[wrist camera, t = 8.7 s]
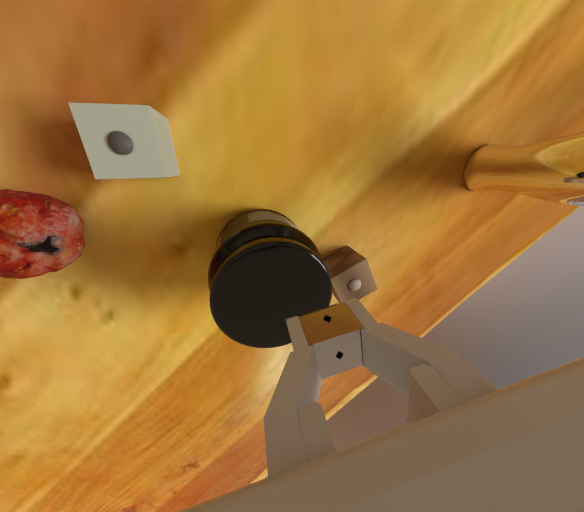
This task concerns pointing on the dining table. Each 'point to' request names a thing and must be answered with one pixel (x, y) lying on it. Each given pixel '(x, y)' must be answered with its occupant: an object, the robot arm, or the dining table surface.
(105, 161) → the sage cube
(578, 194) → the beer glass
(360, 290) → the walnut cube
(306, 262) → the supplement container
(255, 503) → the robot arm
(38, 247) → the pomegranate
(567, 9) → the dining table surface
